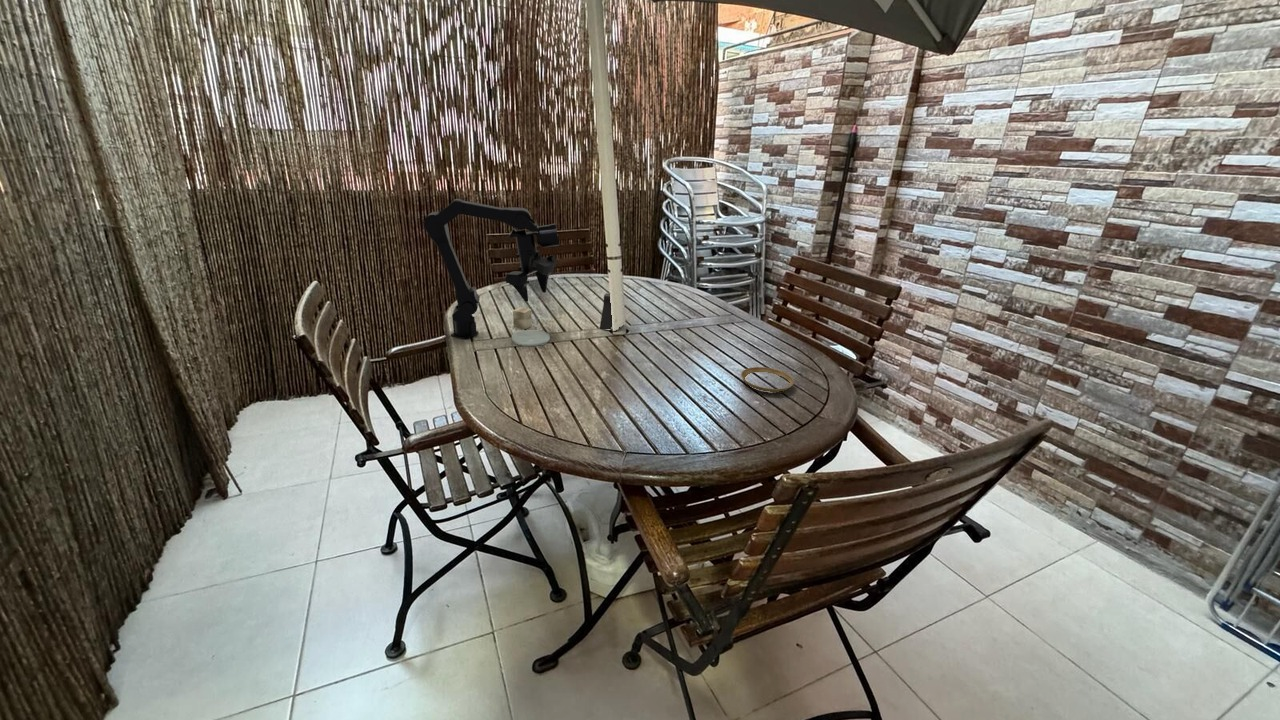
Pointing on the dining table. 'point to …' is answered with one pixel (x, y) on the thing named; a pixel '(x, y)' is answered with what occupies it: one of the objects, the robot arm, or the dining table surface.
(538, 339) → the dish
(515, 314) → the birch block
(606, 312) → the phone stand
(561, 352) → the dining table surface
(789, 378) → the tan ring
